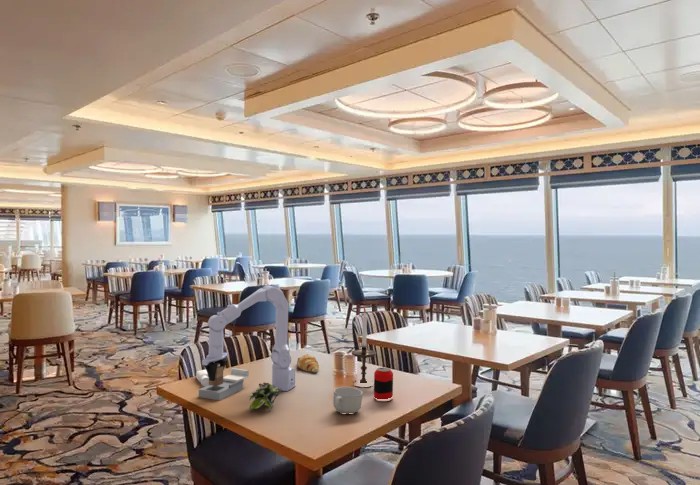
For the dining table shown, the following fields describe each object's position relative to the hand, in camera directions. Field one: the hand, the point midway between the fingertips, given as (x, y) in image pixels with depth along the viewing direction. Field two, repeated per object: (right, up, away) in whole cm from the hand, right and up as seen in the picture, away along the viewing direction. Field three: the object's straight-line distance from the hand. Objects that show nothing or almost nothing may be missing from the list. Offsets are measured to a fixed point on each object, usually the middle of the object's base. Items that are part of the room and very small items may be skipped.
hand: (215, 379), depth 196 cm
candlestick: (+60, -8, +19) cm, 64 cm away
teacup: (+52, -8, -17) cm, 56 cm away
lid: (+5, -4, +13) cm, 14 cm away
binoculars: (-8, -7, +20) cm, 23 cm away
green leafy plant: (+23, -8, -13) cm, 27 cm away
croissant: (+33, -8, +44) cm, 56 cm away
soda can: (+68, -8, 0) cm, 68 cm away
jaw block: (0, -2, 0) cm, 2 cm away
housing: (+1, -7, +4) cm, 8 cm away
